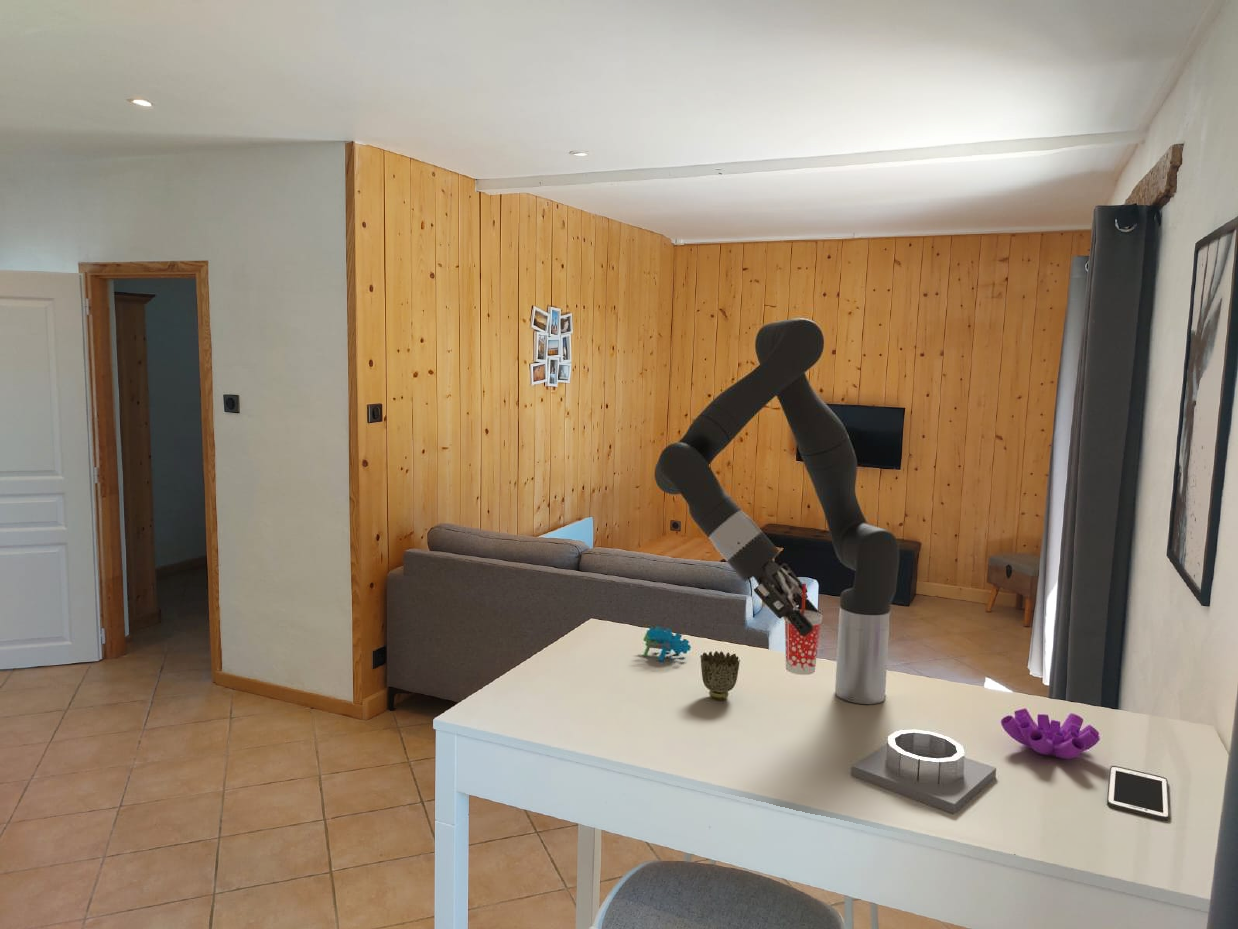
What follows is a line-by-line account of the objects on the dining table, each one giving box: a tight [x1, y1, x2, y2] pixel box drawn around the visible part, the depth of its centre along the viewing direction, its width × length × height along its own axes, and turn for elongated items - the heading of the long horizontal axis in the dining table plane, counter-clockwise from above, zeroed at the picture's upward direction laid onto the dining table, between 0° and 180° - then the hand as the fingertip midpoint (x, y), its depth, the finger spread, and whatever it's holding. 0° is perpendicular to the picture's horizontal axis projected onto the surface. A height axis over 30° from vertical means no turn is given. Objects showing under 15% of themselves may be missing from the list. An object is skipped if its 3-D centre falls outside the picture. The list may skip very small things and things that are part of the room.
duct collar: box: [886, 729, 966, 785], centre depth 131 cm, size 11×11×4 cm
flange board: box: [850, 742, 997, 815], centre depth 131 cm, size 16×16×2 cm
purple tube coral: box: [1000, 707, 1101, 760], centre depth 140 cm, size 11×15×10 cm
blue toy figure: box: [642, 626, 692, 662], centre depth 182 cm, size 11×6×10 cm
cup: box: [700, 650, 741, 701], centre depth 160 cm, size 8×7×8 cm
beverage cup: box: [783, 583, 823, 676], centre depth 134 cm, size 6×6×14 cm
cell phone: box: [1106, 765, 1170, 822], centre depth 127 cm, size 8×15×1 cm, turn 148°
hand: (813, 626), depth 134 cm, fingers closed on beverage cup, 6 cm apart
